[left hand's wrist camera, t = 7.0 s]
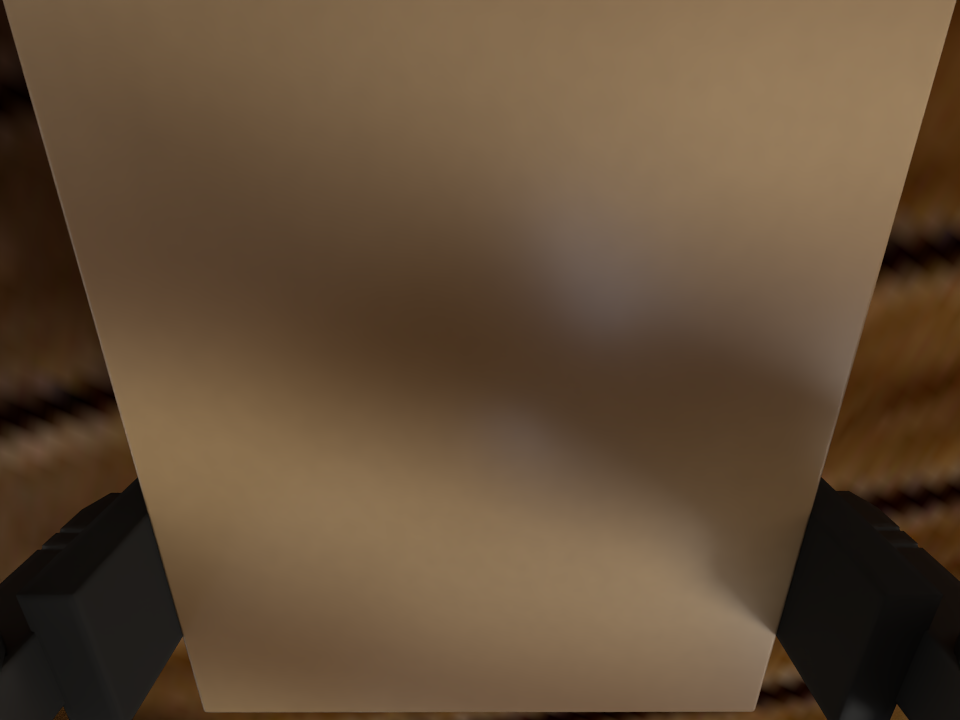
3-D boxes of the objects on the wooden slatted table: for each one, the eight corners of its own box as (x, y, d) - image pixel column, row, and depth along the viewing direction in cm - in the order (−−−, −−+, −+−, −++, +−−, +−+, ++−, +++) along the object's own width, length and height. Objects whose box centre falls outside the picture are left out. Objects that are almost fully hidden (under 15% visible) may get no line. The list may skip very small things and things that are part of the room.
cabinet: (233, -151, 11) (-195, -674, 4) (725, -149, 11) (1149, -668, 4) (317, 479, 17) (202, 714, 10) (640, 479, 17) (755, 713, 10)
